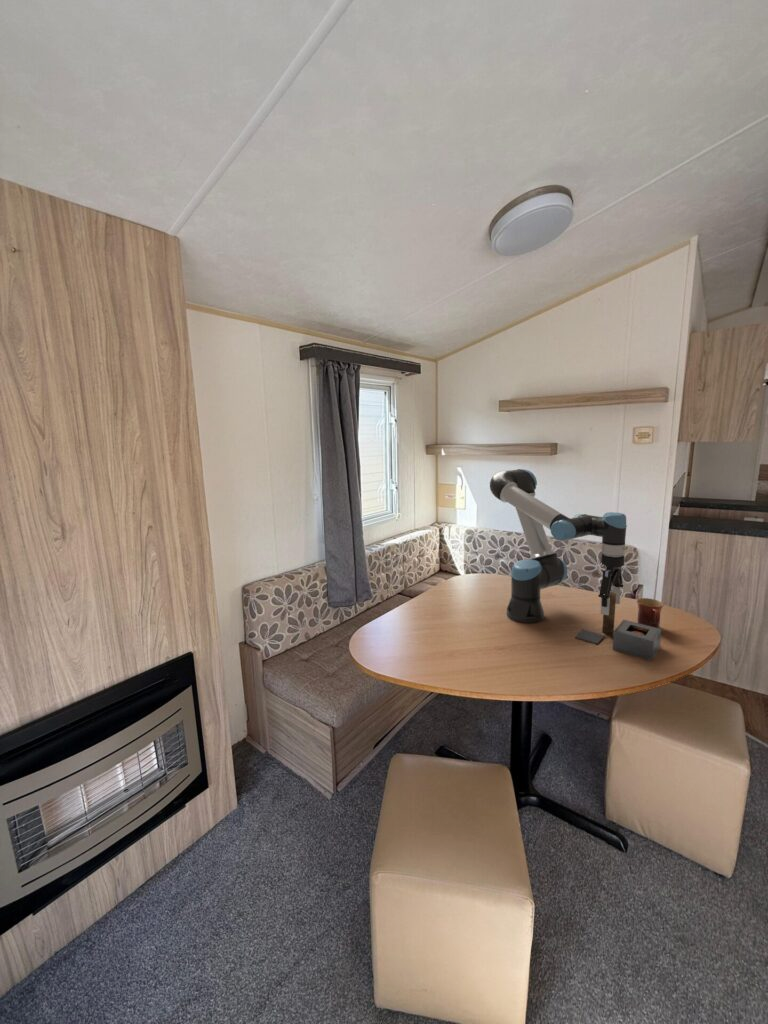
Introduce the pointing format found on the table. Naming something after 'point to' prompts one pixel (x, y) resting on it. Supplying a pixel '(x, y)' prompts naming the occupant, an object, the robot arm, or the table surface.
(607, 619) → the brown cylinder
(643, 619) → the mug
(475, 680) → the table surface
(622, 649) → the grey hollow block
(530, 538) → the robot arm
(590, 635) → the coaster
